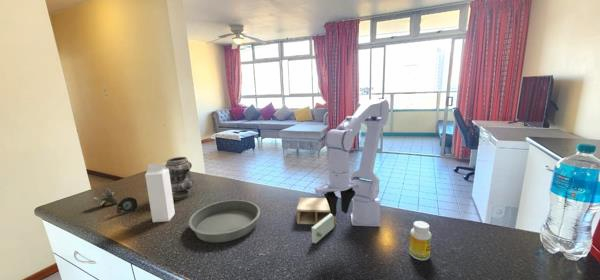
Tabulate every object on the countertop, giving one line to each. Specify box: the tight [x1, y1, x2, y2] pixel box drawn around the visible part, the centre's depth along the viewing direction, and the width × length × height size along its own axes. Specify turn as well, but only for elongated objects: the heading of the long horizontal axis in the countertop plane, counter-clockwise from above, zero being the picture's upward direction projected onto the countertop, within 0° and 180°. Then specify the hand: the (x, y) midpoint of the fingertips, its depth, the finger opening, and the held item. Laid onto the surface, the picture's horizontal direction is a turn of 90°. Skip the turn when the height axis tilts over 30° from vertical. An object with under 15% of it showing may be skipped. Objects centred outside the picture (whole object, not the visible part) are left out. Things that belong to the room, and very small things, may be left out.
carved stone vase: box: [165, 156, 195, 201], centre depth 117 cm, size 12×12×18 cm
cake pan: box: [188, 199, 261, 243], centre depth 91 cm, size 25×25×4 cm
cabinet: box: [296, 197, 337, 226], centre depth 94 cm, size 14×10×6 cm
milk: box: [144, 162, 176, 223], centre depth 96 cm, size 6×6×22 cm
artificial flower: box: [93, 188, 139, 215], centre depth 108 cm, size 9×22×10 cm, turn 56°
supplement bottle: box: [408, 220, 432, 261], centre depth 71 cm, size 5×5×10 cm
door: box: [311, 213, 336, 245], centre depth 82 cm, size 12×3×6 cm, turn 142°
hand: (338, 213), depth 76 cm, fingers open, 3 cm apart
